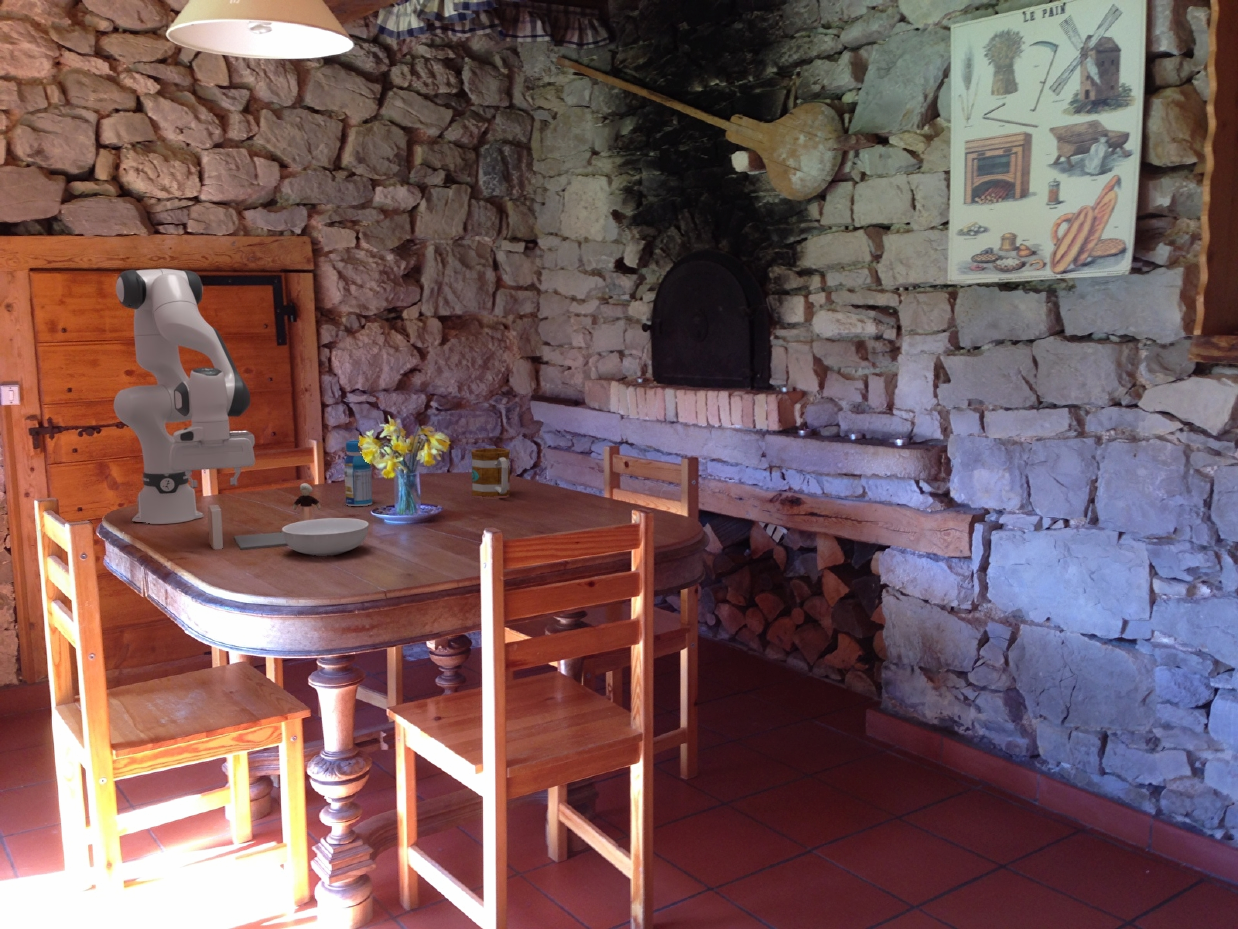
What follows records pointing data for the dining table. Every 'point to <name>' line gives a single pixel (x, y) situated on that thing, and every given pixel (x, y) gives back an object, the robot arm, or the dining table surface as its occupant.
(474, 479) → the mug
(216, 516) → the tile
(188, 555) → the dining table surface
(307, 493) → the grandmother figurine
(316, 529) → the serving bowl
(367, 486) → the beverage bottle
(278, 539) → the mat
